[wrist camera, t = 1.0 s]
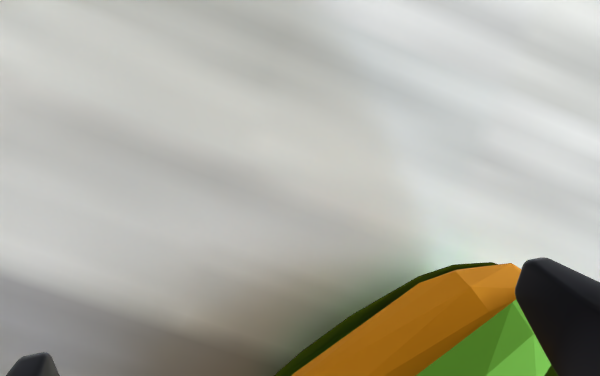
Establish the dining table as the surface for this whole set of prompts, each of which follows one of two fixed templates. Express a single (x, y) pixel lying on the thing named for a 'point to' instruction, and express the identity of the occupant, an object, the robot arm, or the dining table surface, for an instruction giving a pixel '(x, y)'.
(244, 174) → the dining table surface
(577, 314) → the robot arm
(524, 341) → the corn
